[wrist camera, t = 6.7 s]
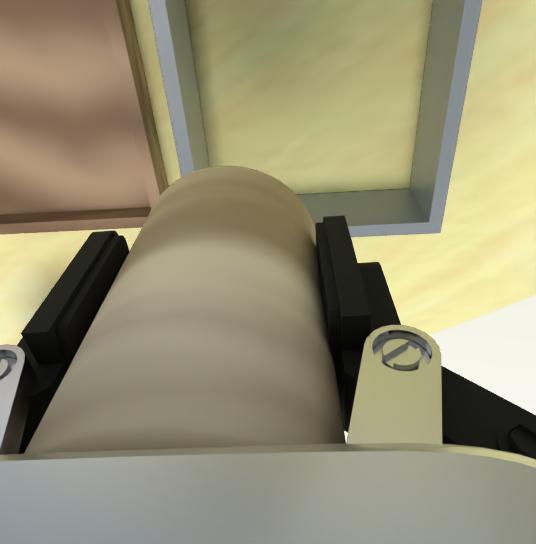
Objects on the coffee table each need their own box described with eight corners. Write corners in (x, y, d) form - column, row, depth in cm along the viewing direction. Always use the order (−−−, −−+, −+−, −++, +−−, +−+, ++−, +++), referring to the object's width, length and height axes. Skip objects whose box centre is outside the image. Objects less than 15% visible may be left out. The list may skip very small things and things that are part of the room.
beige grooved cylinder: (126, 173, 12) (-68, 436, 5) (314, 158, 11) (363, 419, 5) (166, 316, 15) (74, 603, 8) (318, 307, 14) (352, 600, 8)
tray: (-121, -28, 24) (-154, -28, 23) (118, -49, 24) (104, -50, 22) (-4, 220, 33) (-21, 235, 31) (173, 211, 33) (166, 226, 31)
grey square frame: (161, -52, 24) (137, -56, 19) (458, -78, 23) (497, -87, 19) (205, 209, 32) (194, 244, 28) (419, 198, 32) (440, 232, 28)
